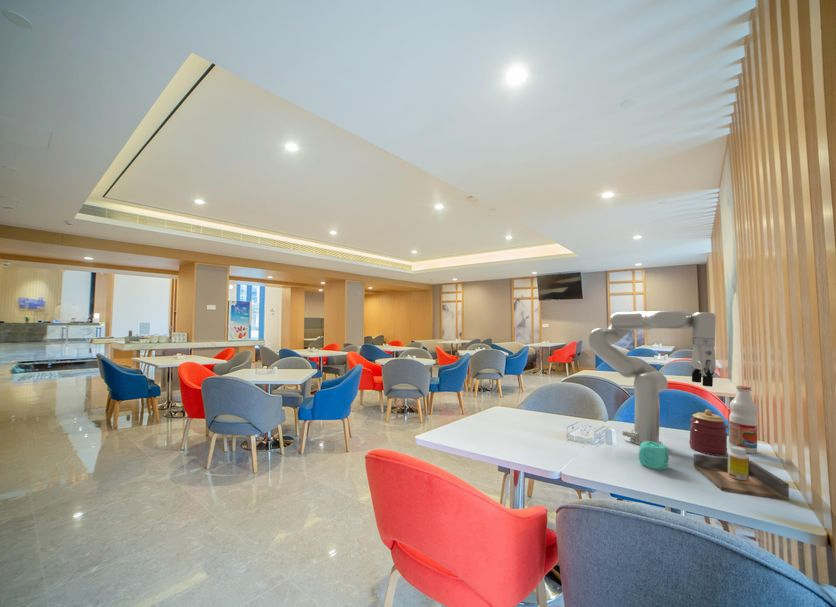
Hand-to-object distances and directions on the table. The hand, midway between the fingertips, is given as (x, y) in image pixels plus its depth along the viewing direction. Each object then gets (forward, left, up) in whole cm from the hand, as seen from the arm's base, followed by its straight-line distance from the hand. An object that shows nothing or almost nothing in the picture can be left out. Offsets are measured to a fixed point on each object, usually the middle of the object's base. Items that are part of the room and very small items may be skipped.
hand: (701, 384), depth 150 cm
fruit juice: (+24, +20, -30) cm, 44 cm away
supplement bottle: (+3, -21, -29) cm, 36 cm away
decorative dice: (-22, -17, -30) cm, 41 cm away
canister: (+8, +13, -30) cm, 34 cm away
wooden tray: (+2, -22, -30) cm, 37 cm away
